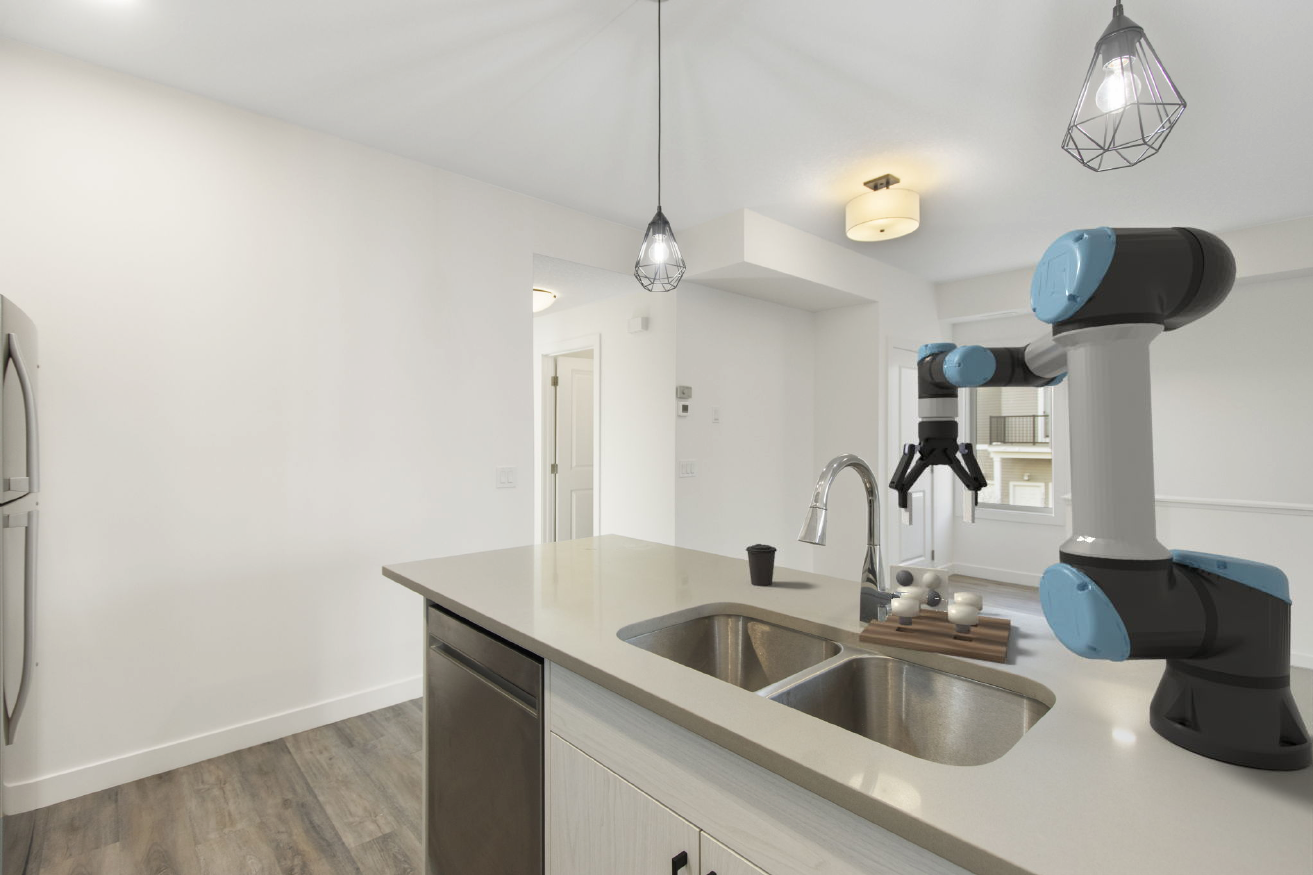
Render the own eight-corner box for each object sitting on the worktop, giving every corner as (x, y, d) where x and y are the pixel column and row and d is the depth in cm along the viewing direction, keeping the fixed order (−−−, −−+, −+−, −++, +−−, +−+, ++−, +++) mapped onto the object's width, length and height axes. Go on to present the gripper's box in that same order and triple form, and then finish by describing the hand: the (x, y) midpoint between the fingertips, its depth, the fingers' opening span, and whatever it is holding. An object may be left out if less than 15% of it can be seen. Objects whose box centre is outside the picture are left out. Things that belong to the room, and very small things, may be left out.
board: (1005, 663, 106) (1005, 656, 106) (859, 640, 119) (859, 634, 119) (1010, 625, 127) (1010, 619, 127) (885, 609, 139) (885, 604, 139)
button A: (977, 637, 112) (977, 613, 112) (946, 633, 115) (946, 609, 115) (979, 630, 117) (979, 606, 117) (949, 626, 119) (949, 602, 119)
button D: (925, 615, 126) (925, 593, 126) (899, 612, 129) (898, 590, 129) (929, 609, 130) (929, 588, 130) (903, 606, 133) (903, 585, 133)
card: (947, 612, 137) (947, 570, 137) (889, 605, 143) (889, 565, 143) (950, 607, 140) (949, 567, 140) (893, 600, 146) (893, 561, 146)
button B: (917, 629, 118) (917, 605, 118) (889, 625, 120) (888, 602, 120) (921, 622, 122) (921, 599, 122) (894, 618, 124) (894, 596, 124)
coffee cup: (760, 578, 170) (759, 541, 170) (783, 583, 164) (783, 545, 164) (739, 583, 165) (738, 545, 165) (763, 589, 159) (762, 549, 159)
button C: (981, 622, 121) (981, 600, 121) (953, 619, 124) (952, 596, 124) (983, 616, 125) (983, 594, 125) (955, 612, 128) (955, 591, 128)
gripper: (982, 419, 135) (982, 518, 135) (871, 420, 132) (872, 522, 132) (1006, 418, 127) (1006, 523, 128) (889, 420, 124) (890, 527, 124)
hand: (938, 523), depth 130 cm, fingers open, 13 cm apart
